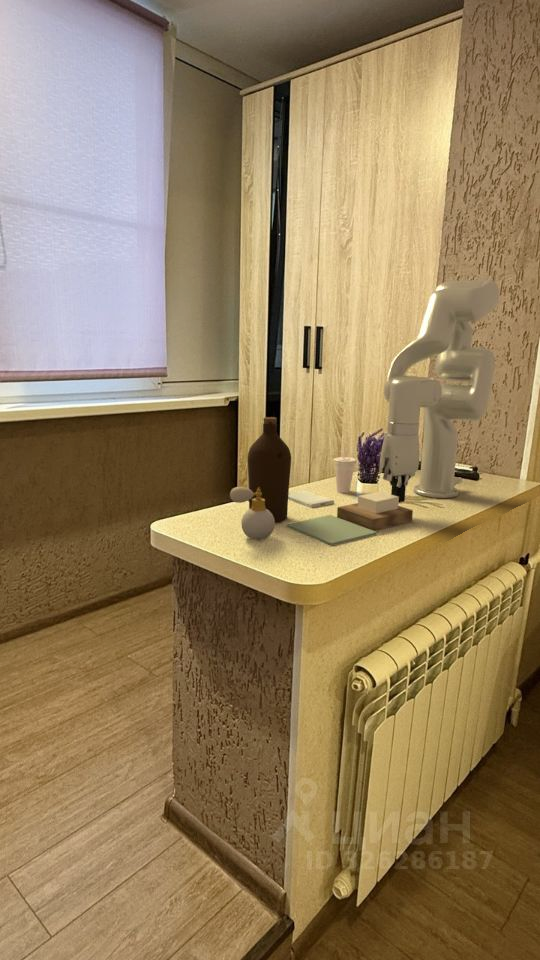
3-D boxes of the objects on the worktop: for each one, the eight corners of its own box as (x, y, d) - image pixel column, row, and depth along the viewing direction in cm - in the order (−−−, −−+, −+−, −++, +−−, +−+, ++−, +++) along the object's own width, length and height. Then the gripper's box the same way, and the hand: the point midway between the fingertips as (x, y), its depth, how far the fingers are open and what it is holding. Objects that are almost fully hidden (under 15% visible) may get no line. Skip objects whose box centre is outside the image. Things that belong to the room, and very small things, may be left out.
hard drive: (282, 493, 168) (311, 504, 158) (305, 489, 173) (334, 499, 163) (282, 499, 168) (310, 510, 159) (305, 495, 173) (334, 505, 163)
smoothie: (327, 491, 176) (329, 444, 172) (340, 487, 180) (343, 441, 177) (345, 495, 172) (348, 447, 168) (358, 491, 176) (361, 444, 173)
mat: (330, 517, 151) (330, 514, 151) (376, 534, 138) (376, 531, 138) (286, 526, 143) (286, 524, 142) (331, 545, 130) (331, 543, 130)
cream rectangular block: (380, 502, 153) (380, 491, 153) (398, 508, 149) (398, 496, 148) (357, 507, 149) (358, 495, 148) (375, 513, 144) (376, 501, 143)
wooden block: (376, 510, 158) (377, 499, 157) (411, 521, 148) (412, 510, 148) (337, 518, 150) (337, 507, 149) (372, 531, 140) (372, 519, 139)
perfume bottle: (281, 539, 134) (282, 487, 131) (245, 548, 128) (245, 493, 125) (261, 530, 139) (262, 480, 137) (226, 538, 134) (226, 486, 131)
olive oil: (297, 516, 151) (300, 417, 145) (275, 527, 142) (278, 422, 136) (261, 509, 156) (262, 413, 150) (238, 519, 147) (239, 418, 141)
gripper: (411, 425, 156) (405, 493, 160) (370, 429, 147) (366, 501, 151) (434, 429, 150) (428, 500, 154) (393, 433, 141) (388, 508, 145)
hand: (397, 500), depth 153 cm, fingers closed
